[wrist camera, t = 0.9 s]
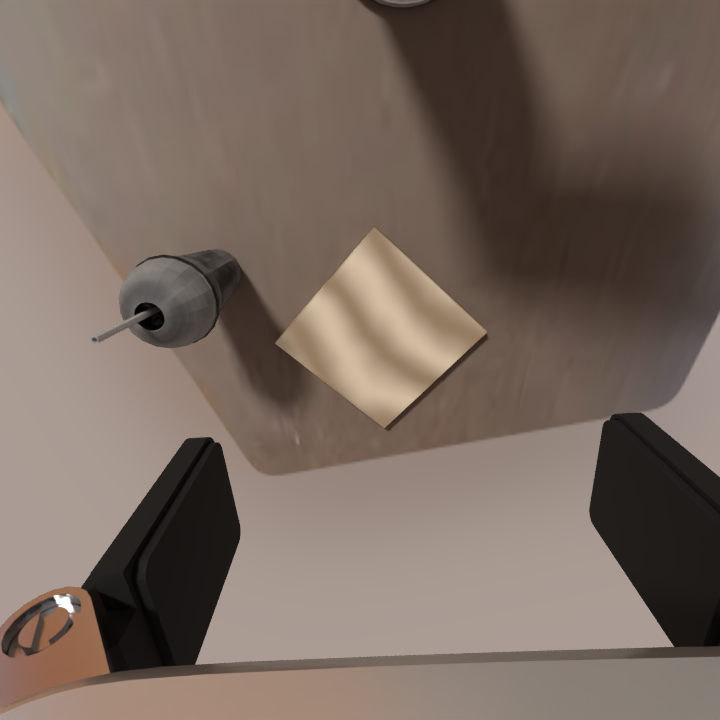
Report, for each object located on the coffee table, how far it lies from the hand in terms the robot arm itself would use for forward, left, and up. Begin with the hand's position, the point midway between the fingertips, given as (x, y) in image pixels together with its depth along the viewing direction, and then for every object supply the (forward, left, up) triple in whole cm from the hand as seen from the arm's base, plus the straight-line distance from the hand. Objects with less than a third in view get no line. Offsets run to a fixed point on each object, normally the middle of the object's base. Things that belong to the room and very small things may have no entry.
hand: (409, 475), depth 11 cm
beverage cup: (+13, -11, -36) cm, 39 cm away
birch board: (+7, +6, -35) cm, 36 cm away
